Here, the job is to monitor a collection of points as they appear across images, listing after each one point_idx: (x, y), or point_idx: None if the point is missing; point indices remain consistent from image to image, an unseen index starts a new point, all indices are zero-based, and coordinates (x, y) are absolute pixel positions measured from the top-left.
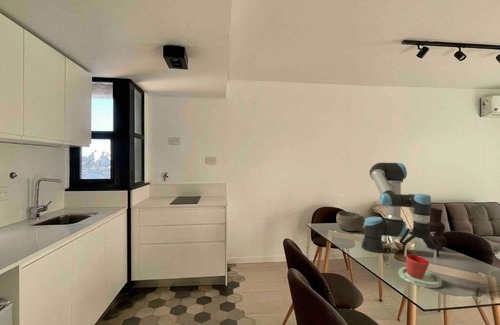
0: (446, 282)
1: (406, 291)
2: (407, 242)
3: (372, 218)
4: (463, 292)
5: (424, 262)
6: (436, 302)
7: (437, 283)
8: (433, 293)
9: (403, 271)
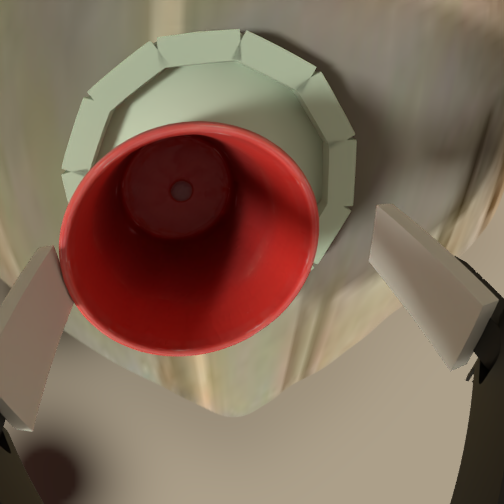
0: (376, 124)
1: (169, 374)
2: (25, 484)
3: None
4: (421, 214)
5: (268, 166)
6: (280, 379)
7: (319, 258)
8: (279, 323)
9: (96, 161)
